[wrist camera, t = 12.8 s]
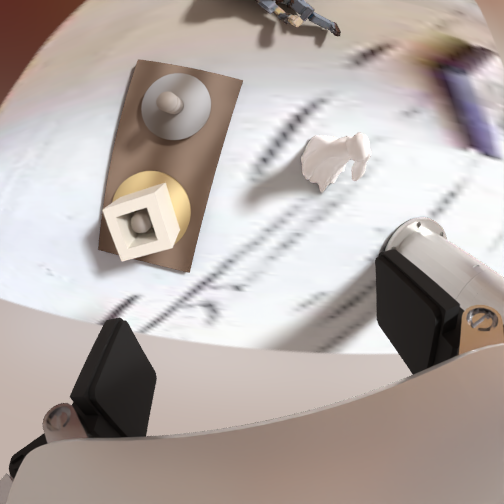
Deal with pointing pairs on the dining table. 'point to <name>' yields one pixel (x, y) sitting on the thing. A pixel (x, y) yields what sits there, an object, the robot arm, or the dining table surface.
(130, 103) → the workboard
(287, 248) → the dining table surface
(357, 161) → the figurine
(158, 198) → the collar
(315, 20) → the toy
